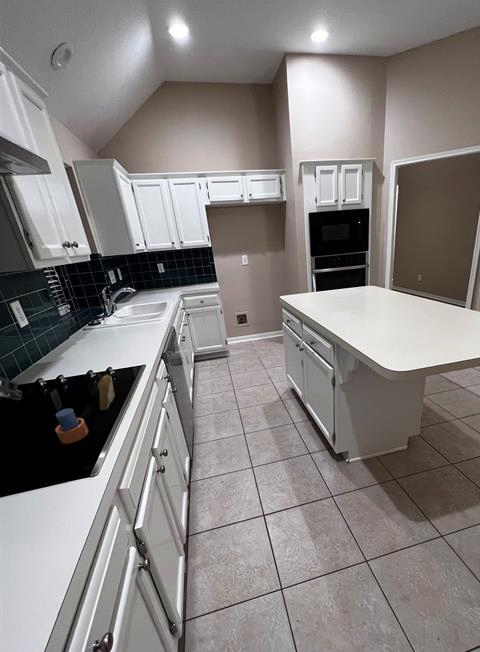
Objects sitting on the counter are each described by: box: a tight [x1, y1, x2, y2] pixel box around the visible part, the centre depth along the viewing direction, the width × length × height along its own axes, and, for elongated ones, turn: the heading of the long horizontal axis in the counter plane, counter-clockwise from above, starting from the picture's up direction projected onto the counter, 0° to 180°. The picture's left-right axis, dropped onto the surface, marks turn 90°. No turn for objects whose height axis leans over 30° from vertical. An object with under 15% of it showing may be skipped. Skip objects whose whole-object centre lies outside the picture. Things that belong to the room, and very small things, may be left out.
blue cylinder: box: [55, 407, 80, 431], centre depth 94 cm, size 4×4×8 cm
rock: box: [97, 374, 116, 411], centre depth 111 cm, size 11×9×10 cm
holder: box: [55, 417, 89, 445], centre depth 95 cm, size 7×7×4 cm
